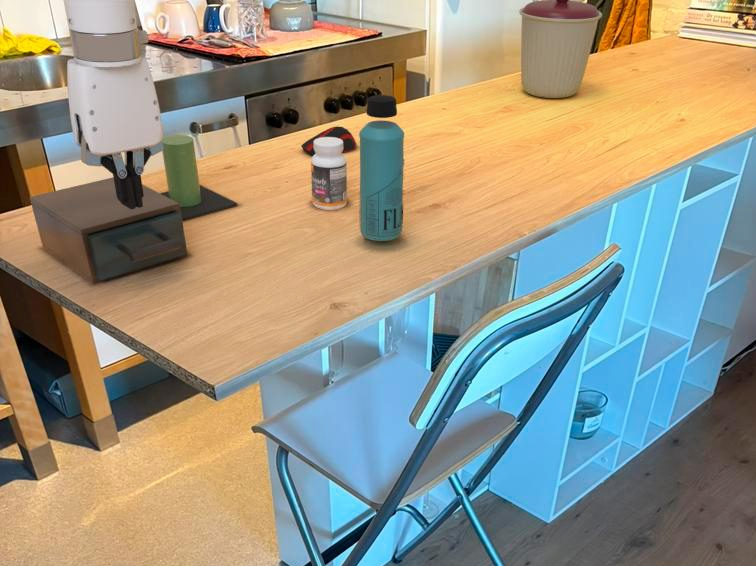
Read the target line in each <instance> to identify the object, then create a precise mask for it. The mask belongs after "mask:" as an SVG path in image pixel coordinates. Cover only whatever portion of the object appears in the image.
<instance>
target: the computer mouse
mask: <svg viewBox="0 0 756 566" xmlns="http://www.w3.org/2000/svg"><path fill="white" fill-rule="evenodd" d="M321 137H335V138H339V139H341V140H342V141H343V148H344V149H343V151H342V154H346V153H351V152H354V151H356V150H357V141H356V140H355V138H354V136H353V134H352V133H351V132H350V131H349V129H347V128H345V127H343V126H338V125H337V126H333V127H330V128H328V129H325V130H324V131H322V132H319V133H318V134H316V135H315V136H312V137H311V138H309V139H307V140H306V141H304V142H303V143H302V144H301V146H300V147H301V148H302V150H303V151H304V153H306V154H307V155H309V156H311V157H313V156H314V155H315V151H314V147H313V143H314V140H315V139H317V138H321Z"/></svg>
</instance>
